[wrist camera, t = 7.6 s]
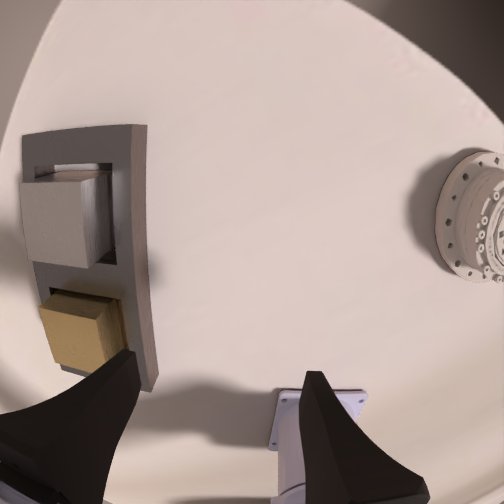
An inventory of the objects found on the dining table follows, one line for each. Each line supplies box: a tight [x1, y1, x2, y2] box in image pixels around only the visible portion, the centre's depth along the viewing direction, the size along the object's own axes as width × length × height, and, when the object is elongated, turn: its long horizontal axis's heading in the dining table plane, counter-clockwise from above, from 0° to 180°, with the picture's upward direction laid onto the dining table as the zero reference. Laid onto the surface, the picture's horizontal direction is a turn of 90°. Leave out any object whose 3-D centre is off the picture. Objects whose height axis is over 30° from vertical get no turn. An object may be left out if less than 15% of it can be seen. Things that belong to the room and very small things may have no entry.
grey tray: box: [22, 124, 159, 392], centre depth 21 cm, size 20×9×2 cm, turn 176°
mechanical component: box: [435, 152, 504, 283], centre depth 17 cm, size 10×4×10 cm
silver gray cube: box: [19, 170, 115, 269], centre depth 18 cm, size 5×5×5 cm
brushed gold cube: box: [38, 289, 128, 373], centre depth 21 cm, size 5×5×5 cm
